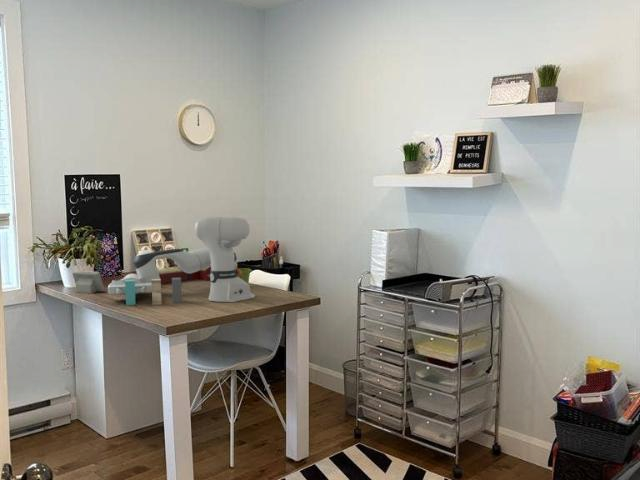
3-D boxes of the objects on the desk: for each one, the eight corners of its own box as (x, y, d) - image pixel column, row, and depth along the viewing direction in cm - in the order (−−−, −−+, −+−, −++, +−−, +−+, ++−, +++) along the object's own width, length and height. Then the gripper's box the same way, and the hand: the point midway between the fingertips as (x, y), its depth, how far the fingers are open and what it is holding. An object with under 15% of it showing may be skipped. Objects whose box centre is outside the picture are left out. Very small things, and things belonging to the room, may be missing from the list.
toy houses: (202, 275, 363) (202, 258, 362) (221, 280, 348) (220, 262, 347) (129, 284, 334) (128, 266, 333) (146, 290, 319) (145, 270, 317)
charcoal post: (172, 301, 289) (171, 278, 288) (181, 300, 290) (180, 277, 289) (172, 302, 285) (172, 279, 284) (181, 302, 286) (181, 279, 285)
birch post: (152, 302, 285) (151, 279, 284) (161, 302, 286) (160, 279, 285) (152, 304, 282) (151, 280, 280) (161, 304, 283) (160, 280, 281)
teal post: (126, 303, 284) (125, 280, 283) (135, 303, 285) (134, 279, 284) (126, 305, 280) (125, 281, 279) (135, 304, 281) (134, 281, 280)
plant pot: (253, 286, 326) (253, 270, 325) (236, 288, 322) (235, 271, 321) (248, 283, 335) (248, 268, 334) (231, 285, 331) (231, 269, 330)
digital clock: (106, 291, 314) (105, 270, 313) (92, 294, 306) (91, 273, 305) (84, 288, 322) (83, 268, 320) (69, 291, 314) (68, 270, 313)
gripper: (153, 291, 298) (154, 297, 284) (109, 293, 292) (107, 299, 279) (153, 278, 297) (153, 283, 284) (108, 280, 292) (106, 285, 278)
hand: (130, 291), depth 281 cm, fingers open, 8 cm apart
